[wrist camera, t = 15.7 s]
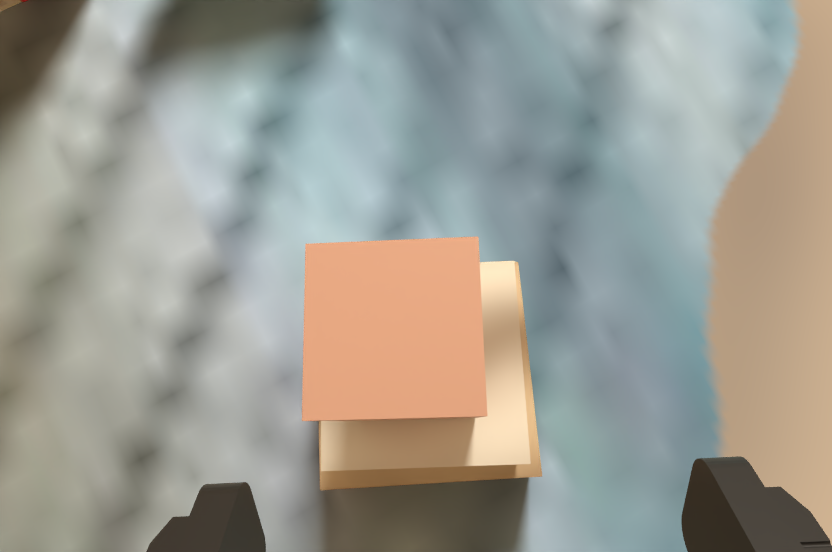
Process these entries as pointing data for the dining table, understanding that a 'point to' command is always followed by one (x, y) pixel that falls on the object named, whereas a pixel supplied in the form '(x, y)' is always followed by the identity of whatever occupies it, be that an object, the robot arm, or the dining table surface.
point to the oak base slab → (450, 474)
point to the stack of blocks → (9, 3)
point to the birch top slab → (460, 437)
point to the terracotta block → (393, 331)
